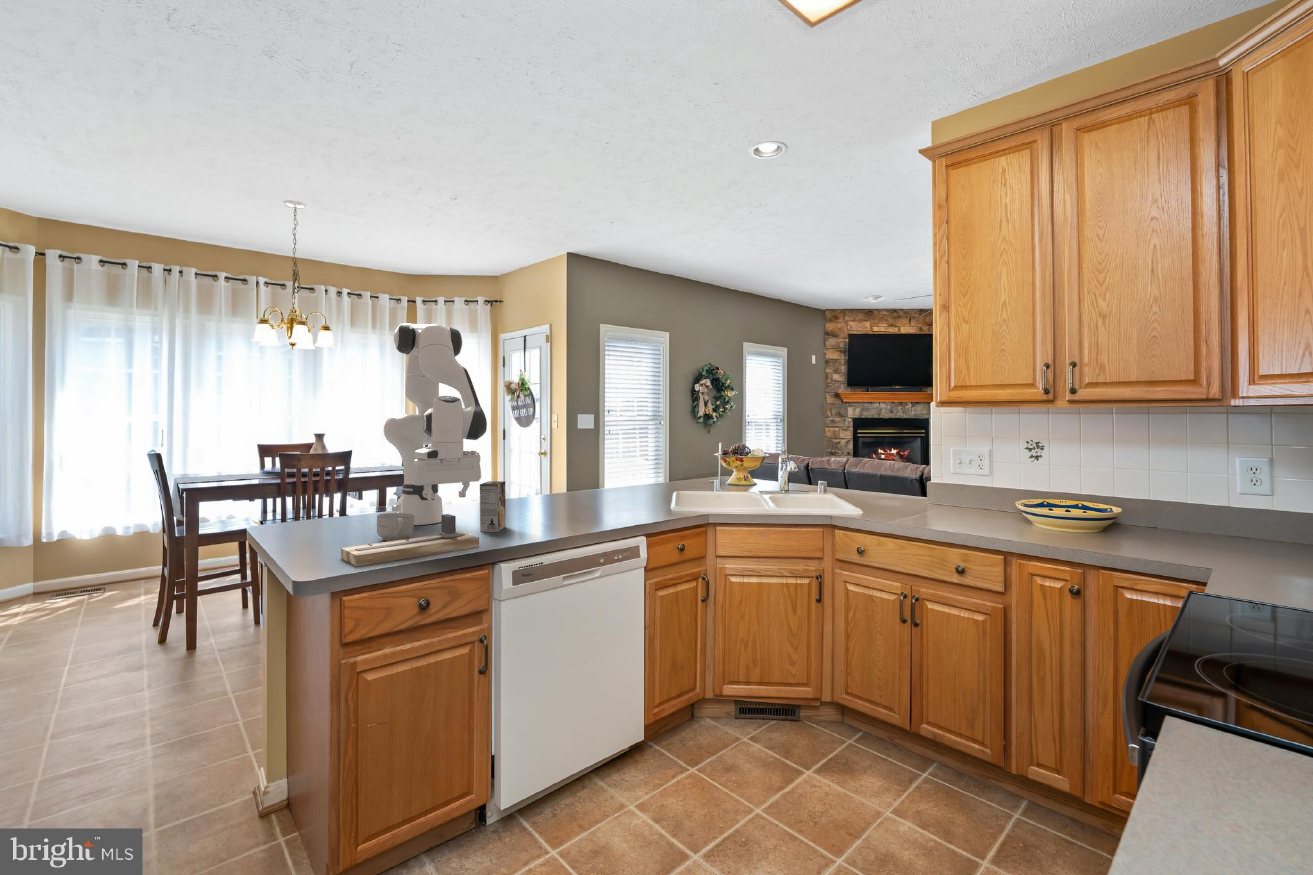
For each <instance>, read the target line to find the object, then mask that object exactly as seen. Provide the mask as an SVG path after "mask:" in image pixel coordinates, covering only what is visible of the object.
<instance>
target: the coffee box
mask: <svg viewBox="0 0 1313 875" xmlns="http://www.w3.org/2000/svg"><path fill="white" fill-rule="evenodd" d="M506 509H507V508H506V481H503V480H501V481H493V480H491V481H486V482H483V483H480V484H479V531H480V532H483V533H490V532H491V533H498V532H500V531H502V530H504V528H506V523H507V522H506V518H507V516H506V512H507V511H506Z"/></svg>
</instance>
